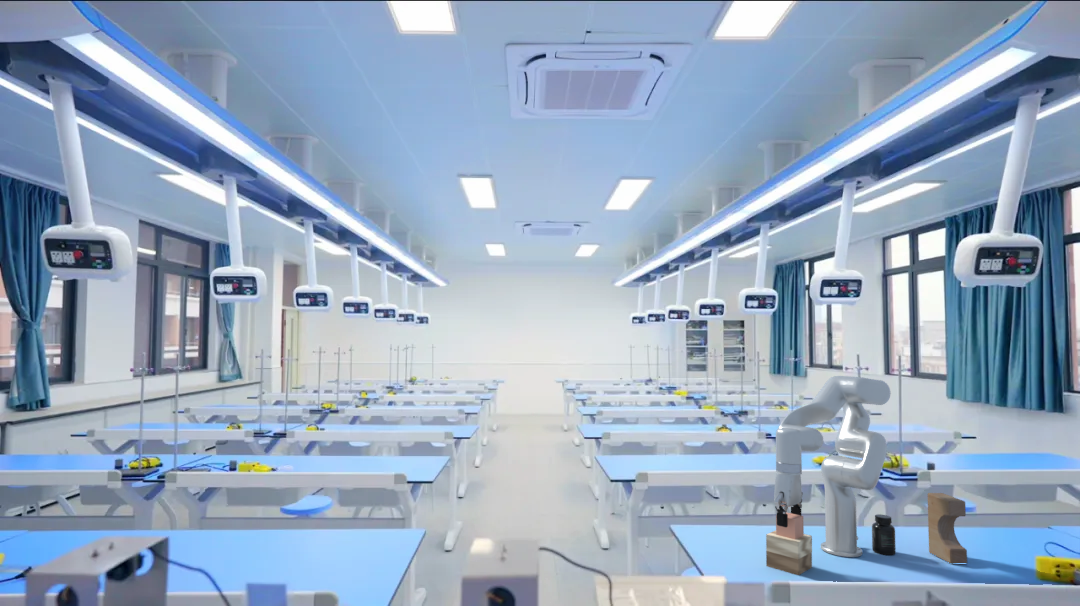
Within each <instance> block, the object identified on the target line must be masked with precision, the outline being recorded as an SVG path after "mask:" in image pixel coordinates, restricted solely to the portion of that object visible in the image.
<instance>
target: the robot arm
mask: <svg viewBox="0 0 1080 606" xmlns="http://www.w3.org/2000/svg"><path fill="white" fill-rule="evenodd" d="M891 394H892V393H891V388H890V386H889V385H888V383H887V382H885V381H884V380H881V379H874V378H868V377H861V376H860V377H859V376H848V375H836V376H835V375H834V376H831V377H830V378H828V380H827V381H826V382H825V383H824V385H823V386H822V387H821V389H820V390H819V391H818V393H817V394H816V396H815V397H814V398H813V400H812V401H810V402H808V403H806V404H804V405H801V406H800V407H797V408H796V409H794V410H792V411H790V412H789V413H788V414H787V415H786V416H785V417H784V418H783V420H782V421H781V423H780V424H779V426H778V427H777V429H776V431H775V472H776V473H775V479H774V491H773V492H774V494H773V497H774V499H773V501H774V505H775V506H774V507H775V512H776V515H777V525H778V526H782V527H788V514H786V512H787V513H788V509H789V508H790V513H792V514H796V515H801V516H802V507H803V504H802V502H803V494H804V493H803V489H802V488H803V487H802V477H801V475H803V474H802V473H803V472H802V470H803V468H802V467H803V466H802V465H803V464H802V463H803V461H802V460H803V459H802V452H803V451H804V452H816V451H818V450H819V449H821V448H822V446H823V444H824V436H823V434H822V432H821V431H820V430H818V429H816V428H814V427H809V426H810V425H815V424H821V423H826V422H828V421H832V420H834V419H835V418H836V417H837V416H838V414H839V412H840V411H841V410H843V417H842V420H841V423H840V426H839V428H838V432H837V435H836V438H835V442H834V446H835V447H834V448H835V450H836V452H837V453H839V454H841V455H844V456H841V455H829V456H826V457H825V458H824V459H823V460H822V462H821V465H820V466H821V470H820V471H821V474H822V475H821V476H822V479H823V485H824V505H825V506H824V514H825V515H824V516H825V517H824V518H825V525H824V526H825V541H824V542H821V544H820V549H821V550H822V551H824V552H825V553H828V554H830V555H833V556H834V555H835V556H837V557H838V556H839V557H845V558H855V557H856V558H857V557H861V556H862V555H863V549H862V548H861V547H858V540H859V537H858V533H857V529H858V528H857V527H858V526H857V498H856V495H855V493H854V491H853V489H858V490H862V491H871V490H873V489H874V488H876V486H877V484H878V482H879V479H880V476H881V472H882V469H883V466H884V463H885V460H886V457H887V451H888V445H887V440H886V439H885V437H884V436H883V434H881V433H879V432H878V431H873V430H872V431H871V430H869V427H870V424H871V419H870V415H869V413H868V412H867V410H866V409H865V407H864V406H863V404H864V405H876V406H882V405H885V404H887V403H888V402H889V400H890V398H891ZM852 488H853V489H852Z"/></svg>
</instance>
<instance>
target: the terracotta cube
mask: <svg viewBox="0 0 1080 606" xmlns="http://www.w3.org/2000/svg"><path fill="white" fill-rule="evenodd" d="M786 514H788V527H782V526H778V525H777V514H776V515H775V530H776V535H779V536H783V537H787V538H791V539H797V538H800V537H802V536H804V534H805V533H804V529H805V527H804V515H802V514H801V515H796V514H792V513H791V512H788V511H787V512H786Z"/></svg>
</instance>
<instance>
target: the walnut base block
mask: <svg viewBox="0 0 1080 606" xmlns="http://www.w3.org/2000/svg"><path fill="white" fill-rule="evenodd" d="M812 554H813V551H812V552H811V553H809V554H807V555H806V556H804V557H802V558H800V559H795V558H791V557H788V556H784V555H780V554H777V553H773V552H769V551H765V555H766V558H765V559H766V560H765V561H766V563H765V564H766V567H767V568H772V569H775V570H779V571H782V572H785V573H789V574H792V575H796V576H800V575H802V574H803V573H805V572H808V570H811V569H812V568H813V555H812Z"/></svg>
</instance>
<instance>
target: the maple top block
mask: <svg viewBox="0 0 1080 606" xmlns="http://www.w3.org/2000/svg"><path fill="white" fill-rule="evenodd" d="M765 539H766V542H765V543H766V544H765V547H766V548H765V550H766V551H769V552H773V553H777V554H780V555H784V556H788V557H791V558H795V559H800V558H802V557H804V556H806V555H807V554H809V553H811V552H812V553H813V536H812V535H810V534H806V533H804V536H802V537H800V538H797V539H791V538H787V537H783V536H779V535H776V529H775V530H774V531H773V530H772V531H771V532H769V533H767V534H766V535H765ZM766 551H765V552H766Z"/></svg>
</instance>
